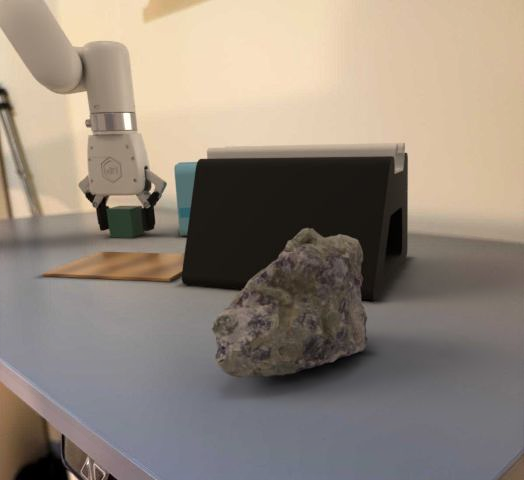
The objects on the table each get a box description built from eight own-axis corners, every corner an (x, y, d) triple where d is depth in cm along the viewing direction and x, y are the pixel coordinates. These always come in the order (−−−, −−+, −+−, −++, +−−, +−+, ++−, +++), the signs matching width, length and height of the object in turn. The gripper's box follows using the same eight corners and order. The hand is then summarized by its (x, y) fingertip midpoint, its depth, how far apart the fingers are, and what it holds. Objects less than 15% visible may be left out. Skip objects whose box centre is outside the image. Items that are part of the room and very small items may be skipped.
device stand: (257, 249, 83) (253, 144, 77) (406, 257, 74) (415, 141, 69) (182, 286, 63) (170, 150, 58) (373, 302, 55) (380, 146, 50)
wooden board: (43, 276, 70) (42, 273, 70) (100, 254, 83) (100, 251, 83) (169, 281, 66) (169, 278, 66) (210, 257, 78) (210, 254, 78)
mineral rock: (218, 400, 36) (208, 249, 32) (203, 343, 46) (194, 223, 42) (400, 379, 38) (410, 235, 34) (348, 329, 48) (352, 214, 44)
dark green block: (110, 237, 97) (106, 208, 95) (122, 233, 101) (119, 205, 99) (133, 237, 95) (129, 209, 94) (145, 233, 100) (142, 205, 98)
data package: (205, 236, 94) (200, 164, 90) (179, 237, 94) (173, 165, 90) (207, 226, 105) (203, 161, 101) (184, 227, 105) (178, 162, 101)
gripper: (56, 127, 90) (73, 232, 97) (151, 123, 86) (162, 234, 92) (82, 127, 97) (96, 225, 103) (170, 123, 92) (179, 227, 99)
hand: (127, 229), depth 98 cm, fingers open, 8 cm apart
